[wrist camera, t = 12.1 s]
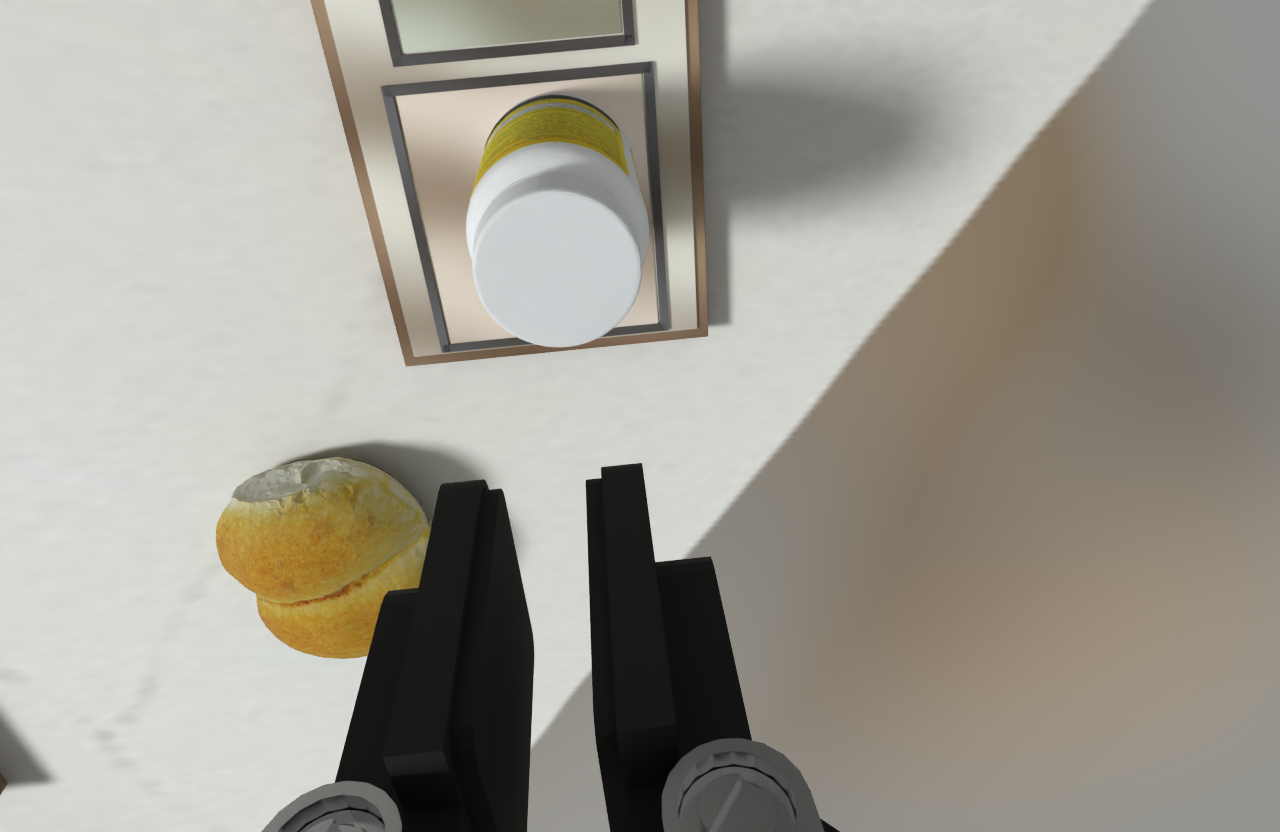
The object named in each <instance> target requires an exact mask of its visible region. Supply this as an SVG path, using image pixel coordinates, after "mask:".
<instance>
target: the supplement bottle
mask: <svg viewBox="0 0 1280 832" xmlns="http://www.w3.org/2000/svg"><path fill="white" fill-rule="evenodd" d="M466 238H467V245H468V249H469V253H470V256H471V259H472V271H473V279H474V284H475V287H476V291H477V293H478V296H479V298H480V300H481V302H482V304H483V306H484V307H485V309H486V310H487V312H488V313H489V314H490V316H491V317H492V318H493V319H494V320H495V321H496V322H497V323H498V324H499V325H500V326H501V327H502V328H504V329H505V330H506V331H508V332H509V333H511V334H512V335H514V336H516V337H518V338H520V339H522V340H524V341H527V342H530V343H533V344H536V345H541V346H546V347H571V346H577V345H581V344H585V343H588V342H591V341H593V340H595V339H597V338H599V337H601V336H603V335H605V334H606V333H608V332H609V331H610V330H612V329H613V328H614V327H615V326H616V325H617V324H619V323H620V322H621V321H622V319H623V318H624V317H625V316H626V315H627V313H628V312H629V310H630V309H631V307H632V306H633V304H634V302H635V300H636V297H637V295H638V292H639V289H640V284H641V278H642V267H643V265H644V262H645V259H646V255H647V251H648V243H649V222H648V215H647V209H646V205H645V202H644V198H643V195H642V191H641V187H640V183H639V179H638V175H637V171H636V167H635V163H634V159H633V155H632V151H631V148H630V146H629V143H628V141H627V139H626V136H625V135H624V133H623V131H622V130H621V128H620V127H619V125H618V124H617V123H616V122H615V120H614V119H613V118H612V117H611V116H610V115H609V114H608V113H607V112H606V111H604V110H603V109H602V108H601V107H599V106H598V105H596V104H595V103H593V102H591V101H589V100H587V99H585V98H582V97H579V96H576V95H572V94H567V93H545V94H540V95H537V96H533V97H530V98H528V99H526V100H523V101H521V102H519V103H518V104H516V105H515V106H513V107H512V108H511V109H510V110H508V111H507V112H506V113H505V114H504V115H503V116H502V117H501V118H500V119H499V121H498V122H497V123H496V124H495V126H494V128H493V129H492V131H491V133H490V135H489V137H488V139H487V142H486V144H485V148H484V153H483V156H482V159H481V163H480V166H479V170H478V173H477V176H476V180H475V184H474V187H473V191H472V194H471V197H470V200H469V204H468V210H467V217H466Z"/></svg>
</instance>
